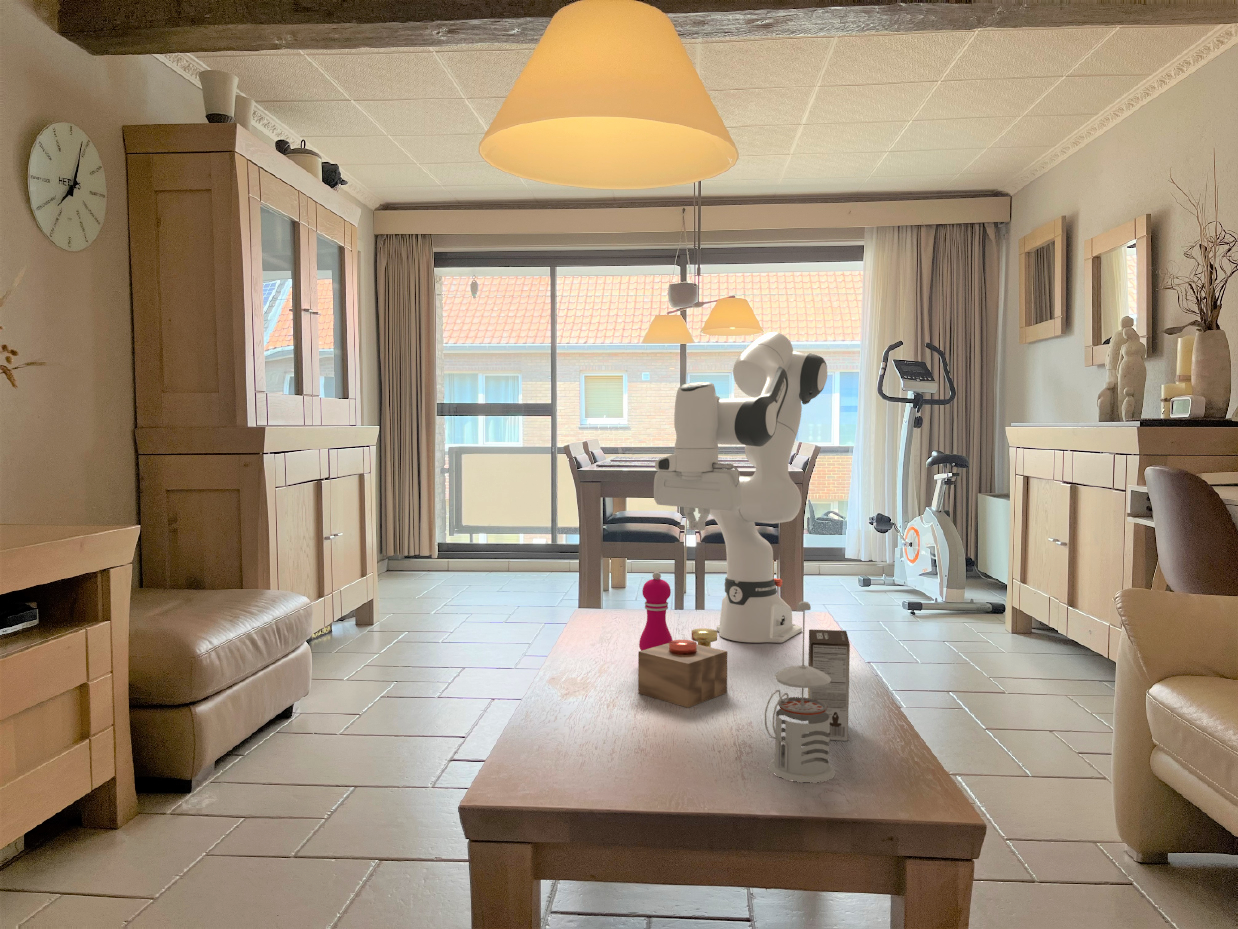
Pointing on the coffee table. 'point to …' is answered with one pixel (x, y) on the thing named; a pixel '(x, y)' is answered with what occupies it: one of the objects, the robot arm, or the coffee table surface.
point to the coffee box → (832, 677)
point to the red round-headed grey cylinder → (682, 647)
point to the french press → (801, 726)
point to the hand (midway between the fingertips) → (696, 529)
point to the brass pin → (704, 636)
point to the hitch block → (682, 675)
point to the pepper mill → (655, 613)
